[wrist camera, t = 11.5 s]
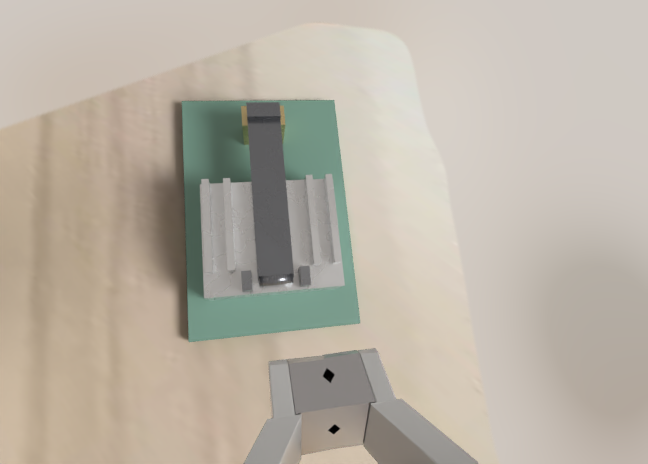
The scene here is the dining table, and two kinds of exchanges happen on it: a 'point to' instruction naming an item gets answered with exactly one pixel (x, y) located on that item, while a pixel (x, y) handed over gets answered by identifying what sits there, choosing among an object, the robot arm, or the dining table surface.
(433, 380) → the dining table surface
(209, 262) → the silver and yellow blocks
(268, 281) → the block
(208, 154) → the circuit board
